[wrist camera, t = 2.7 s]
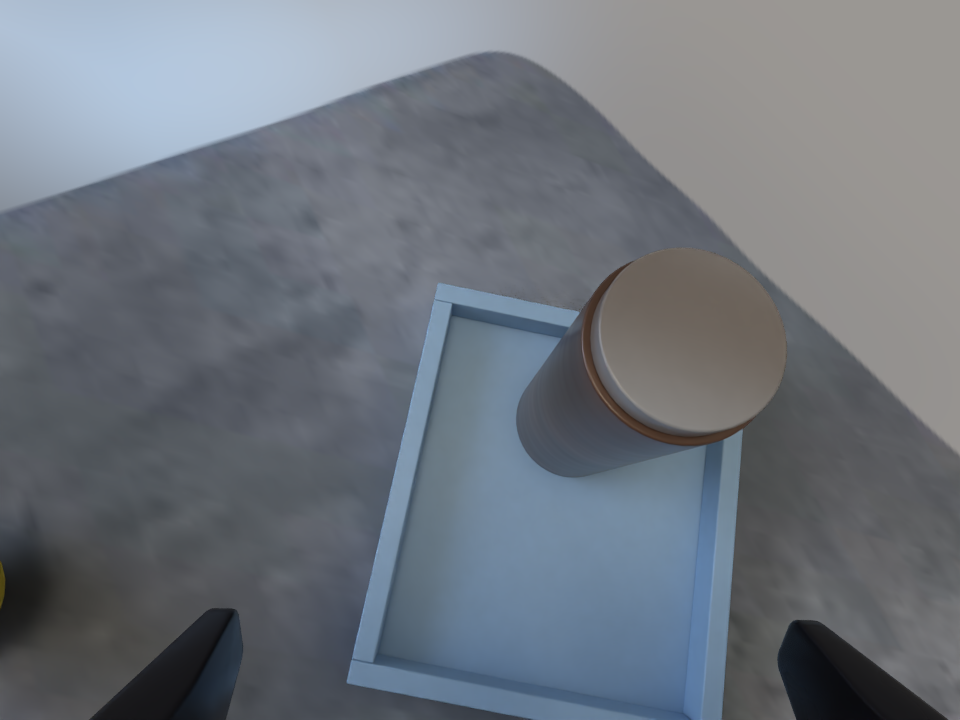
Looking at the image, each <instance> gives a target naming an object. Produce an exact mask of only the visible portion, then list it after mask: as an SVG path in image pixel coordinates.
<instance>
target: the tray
mask: <svg viewBox="0 0 960 720" xmlns="http://www.w3.org/2000/svg"><path fill="white" fill-rule="evenodd" d="M579 313H580V312H577V311H572V310H567V309H563V308H558V307H553V306H548V305H544V304H539V303H534V302H529V301H525V300H520V299H515V298H510V297H505V296H501V295H496V294H491V293H486V292H482V291H477V290H472V289H467V288H463V287H458V286H453V285H448V284H443V283H438V286H437V290H436V294H435V301H434V303H433V308H432V312H431V316H430V321H429V325H428V329H427V334H426V338H425V343H424V347H423V351H422V356H421V360H420V364H419V369H418V373H417V377H416V382H415V386H414V390H413V395H412V399H411V403H410V408H409V412H408V417H407V421H406V425H405V430H404V434H403V438H402V443H401V447H400V451H399V456H398V460H397V464H396V469H395V473H394V477H393V482H392V486H391V490H390V495H389V499H388V504H387V508H386V512H385V517H384V521H383V525H382V530H381V534H380V538H379V543H378V547H377V551H376V556H375V560H374V564H373V569H372V573H371V578H370V582H369V586H368V591H367V595H366V599H365V604H364V608H363V612H362V617H361V621H360V625H359V630H358V634H357V638H356V643H355V647H354V652H353V656H352V661H351V665H350V669H349V673H348V678H347V683H348V684H351V685H357V686H362V687H367V688H372V689H377V690H382V691H387V692H392V693H398V694H403V695H408V696H413V697H418V698H423V699H428V700H434V701H439V702H444V703H449V704H454V705H459V706H464V707H470V708H475V709H480V710H485V711H490V712H495V713H500V714H506V715H511V716H516V717H521V718H526V719H531V720H722V708H723V694H724V681H725V667H726V653H727V639H728V626H729V612H730V598H731V584H732V571H733V557H734V543H735V530H736V516H737V502H738V488H739V475H740V461H741V447H742V433H743V429H742V430H740V431H739V432H737V433H736V434H734V435H732V436H730V437H728V438H726V439H724V440H721V441H719V442H715V443H711V444H708V445H704V446H700V447H696V448H692V449H689V450H685V451H681V452H677V453H673V454H669V455H665V456H662V457H658V458H654V459H650V460H646V461H642V462H639V463H635V464H631V465H627V466H623V467H619V468H615V469H612V470H608V471H604V472H600V473H596V474H592V475H588V476H584V477H563V476H560V475H556V474H553V473H551V472H549V471H547V470H545V469H544V468H542V467H541V466H539V465H538V464H537V463H536V462H535V461H534V460H533V459H532V458H531V457H530V456H529V455H528V453H527V452H526V451H525V449H524V447H523V446H522V443H521V441H520V439H519V435H518V432H517V425H516V414H517V408H518V404H519V401H520V398H521V396H522V394H523V392H524V391H525V389H526V388H527V386H528V385H529V383H530V382H531V381H532V379H533V378H534V376H535V375H536V374H537V372H538V371H539V369H540V368H541V367H542V365H543V364H544V362H545V361H546V360H547V358H548V357H549V355H550V354H551V353H552V351H553V350H554V348H555V347H556V346H557V344H558V343H559V341H560V340H561V339H562V337H563V336H564V334H565V333H566V332H567V330H568V329H569V327H570V326H571V325H572V323H573V322H574V320H575V319H576V318H577V316H578V315H579Z"/></svg>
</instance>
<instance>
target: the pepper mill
mask: <svg viewBox="0 0 960 720" xmlns="http://www.w3.org/2000/svg"><path fill="white" fill-rule="evenodd" d="M786 359H787V341H786V334H785V329H784V326H783V322H782V319H781V317H780V314H779V312H778V309H777V307H776V305H775V304H774V302H773V300H772V298H771V297H770V295H769V294H768V293H767V291H766V290H765V289H764V287H763V286H762V285H761V284H760V283H759V282H758V281H757V280H756V278H754V277H753V276H752V275H751V274H750V273H749V272H748V271H746V270H745V269H744V268H742V267H741V266H739V265H738V264H736V263H735V262H733V261H731V260H729V259H727V258H725V257H723V256H720V255H718V254H715V253H712V252H709V251H705V250H701V249H694V248H670V249H664V250H659V251H655V252H652V253H650V254H647V255H644V256H643V257H641V258H639V259H637V260H635V261H632V262H629V263H628V264H626V265H624V266H622V267H620V268H619V269H617V270H616V271H614V272H613V273H612V274H610V275H609V276H608V277H607V278H606V279H605V280H604V281H603V282H602V283H601V284H600V286H599V287H598V288H597V290H596V291H595V292H594V294H593V295H592V296H591V298H590V299H589V301H588V302H587V303H586V305H585V306H584V308H583V309H582V311H581V312H580V313H579V315H578V316H577V318H576V319H575V320H574V322H573V323H572V325H571V326H570V327H569V329H568V330H567V332H566V333H565V334H564V336H563V337H562V339H561V340H560V341H559V343H558V344H557V346H556V347H555V348H554V350H553V351H552V353H551V354H550V355H549V357H548V358H547V360H546V361H545V362H544V364H543V365H542V367H541V368H540V369H539V371H538V372H537V374H536V375H535V376H534V378H533V379H532V381H531V382H530V383H529V385H528V386H527V388H526V389H525V391H524V392H523V394H522V396H521V398H520V401H519V404H518V408H517V414H516V425H517V432H518V435H519V439H520V441H521V443H522V446H523V447H524V449H525V451H526V452H527V453H528V455H529V456H530V457H531V458H532V459H533V460H534V461H535V462H536V463H537V464H538V465H539V466H541V467H542V468H544V469H545V470H547V471H549V472H551V473H553V474H556V475H560V476H563V477H584V476H588V475H592V474H596V473H600V472H604V471H608V470H612V469H615V468H619V467H623V466H627V465H631V464H635V463H639V462H642V461H646V460H650V459H654V458H658V457H662V456H665V455H669V454H673V453H677V452H681V451H685V450H689V449H692V448H696V447H700V446H704V445H708V444H711V443H715V442H719V441H721V440H724V439H726V438H728V437H730V436H732V435H734V434H736V433H737V432H739V431H740V430H742V429H743V428H744V427H745V426H747V425H748V424H749V423H750V422H751V421H752V420H753V419H754V418H755V417H756V415H757V414H758V413H760V412H761V411H762V410H763V409H764V408H765V407H766V406H767V404H768V403H769V402H770V401H771V400H772V398H773V396H774V395H775V393H776V392H777V390H778V388H779V385H780V383H781V381H782V378H783V375H784V371H785V367H786Z"/></svg>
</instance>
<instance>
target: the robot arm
mask: <svg viewBox="0 0 960 720" xmlns="http://www.w3.org/2000/svg"><path fill="white" fill-rule="evenodd" d="M242 654H243V642H242V635H241V627H240V620H239V614H238V612H237V610H235V609H230V608H212V609H210V610H208V611H206V612H205V613H204V614H203V615H202V616H201V617H199V618H198V619H197V620H196V621H195V622H194V623H193V624H192V625H191V626H190V627H189V628H188V629H187V630H185V631H184V632H183V633H182V634H181V635H180V636H179V637H178V638H177V639H176V640H175V641H174V642H173V643H171V644H170V645H169V646H168V647H167V648H166V649H165V650H164V651H163V652H162V653H161V654H160V655H159V656H157V657H156V658H155V659H154V660H153V661H152V662H151V663H150V664H149V665H148V666H147V667H146V668H144V669H143V670H142V671H141V672H140V673H139V674H138V675H137V676H136V677H135V678H134V679H133V680H132V681H130V682H129V683H128V684H127V685H126V686H125V687H124V688H123V689H122V690H121V691H120V692H119V693H118V694H116V695H115V696H114V697H113V698H112V699H111V700H110V701H109V702H108V703H107V704H106V705H105V706H103V707H102V708H101V709H100V710H99V711H98V712H97V713H96V714H95V715H94V716H93V717H92V718H91V719H89V720H226V717H227V713H228V710H229V706H230V702H231V698H232V695H233V691H234V687H235V683H236V679H237V676H238V672H239V668H240V664H241V660H242ZM777 660H778V668H779V671H780V674H781V677H782V680H783V683H784V686H785V688H786V691H787V694H788V697H789V700H790V703H791V706H792V708H793V711H794V714H795V717H796V720H948V719H947V718H945V717H944V716H943V715H942V714H940V713H939V712H938V711H936V710H935V709H934V708H932V707H931V706H930V705H928V704H927V703H926V702H925V701H923V700H922V699H921V698H919V697H918V696H917V695H915V694H914V693H913V692H911V691H910V690H909V689H907V688H906V687H905V686H904V685H902V684H901V683H900V682H898V681H897V680H896V679H894V678H893V677H892V676H890V675H889V674H888V673H887V672H885V671H884V670H883V669H881V668H880V667H879V666H877V665H876V664H875V663H873V662H872V661H871V660H869V659H868V658H867V657H866V656H864V655H863V654H862V653H860V652H859V651H858V650H856V649H855V648H854V647H852V646H851V645H850V644H848V643H847V642H846V641H845V640H843V639H842V638H841V637H839V636H838V635H837V634H835V633H834V632H833V631H831V630H830V629H829V628H828V627H826V626H825V625H823V624H822V623H820V622H818V621H813V620H795V621H793V622H792V623H790V625H789V627H788V629H787V632H786V634H785V637H784V639H783V642H782V644H781V647H780V649H779V652H778V659H777Z"/></svg>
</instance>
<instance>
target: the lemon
mask: <svg viewBox="0 0 960 720" xmlns="http://www.w3.org/2000/svg"><path fill="white" fill-rule="evenodd" d="M4 595H5V575H4V571H3V566H2V563H1V561H0V609H1V605H2V602H3V599H4Z"/></svg>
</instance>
